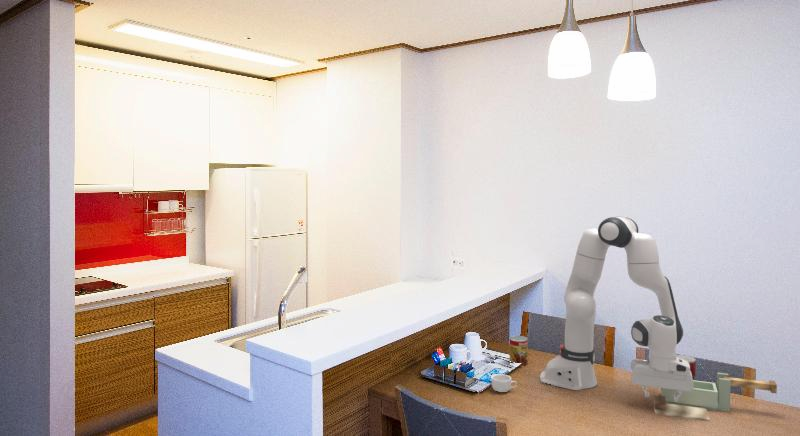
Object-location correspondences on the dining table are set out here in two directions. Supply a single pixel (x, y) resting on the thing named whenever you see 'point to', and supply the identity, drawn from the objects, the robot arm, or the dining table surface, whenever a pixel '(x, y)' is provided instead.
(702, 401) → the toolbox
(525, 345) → the canned food
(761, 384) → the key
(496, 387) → the teacup
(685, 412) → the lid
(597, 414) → the dining table surface
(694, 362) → the canned food
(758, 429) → the dining table surface
